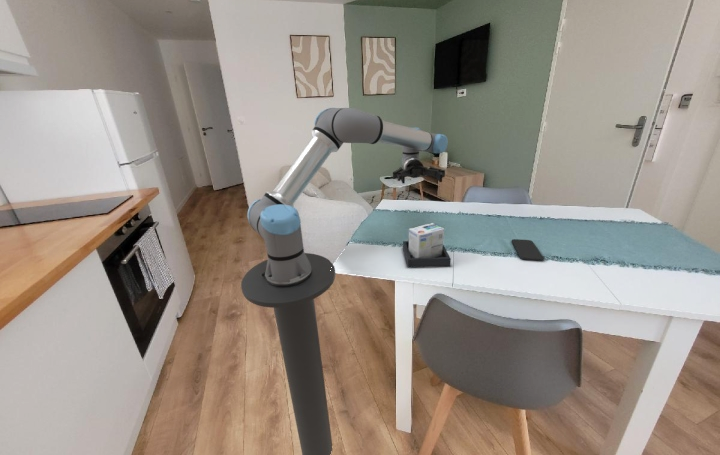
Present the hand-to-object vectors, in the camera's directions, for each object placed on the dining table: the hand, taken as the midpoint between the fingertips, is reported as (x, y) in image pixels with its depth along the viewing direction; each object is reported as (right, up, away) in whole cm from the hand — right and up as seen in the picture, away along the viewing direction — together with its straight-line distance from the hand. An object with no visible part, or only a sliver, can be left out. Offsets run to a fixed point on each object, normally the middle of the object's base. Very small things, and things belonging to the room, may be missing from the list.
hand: (422, 179), depth 106 cm
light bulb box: (+1, -28, 0) cm, 28 cm away
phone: (+38, -26, +1) cm, 46 cm away
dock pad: (+1, -28, 0) cm, 28 cm away
